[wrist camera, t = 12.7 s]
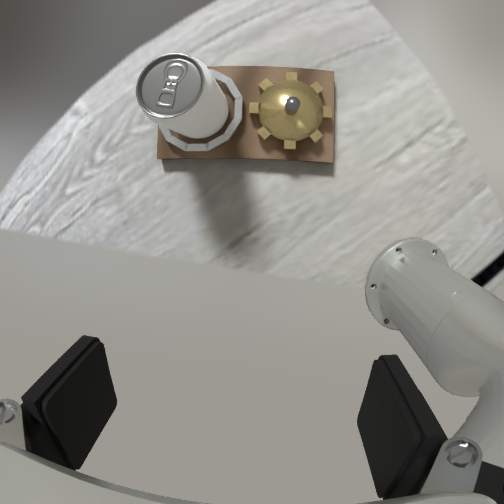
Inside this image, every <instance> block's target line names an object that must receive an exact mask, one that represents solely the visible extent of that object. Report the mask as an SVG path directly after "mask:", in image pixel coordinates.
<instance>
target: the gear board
mask: <svg viewBox="0 0 504 504" xmlns="http://www.w3.org/2000/svg"><path fill="white" fill-rule="evenodd" d="M207 68H208V69H213V70H215V71H217V72H219V73H221V74H223V75H225V76H227V77H229V78H231V79H232V80H233V82H234V84H235V85H236V87H237V89H238V90H239V92H240V94H241V95H242V97H243V121H242V123H241V124H240V126H239V127H238V129H237V131H236V132H235V134H234V135H233V137H232V138H231V140H230V139H229V140H230V141H228V142H226V143H225V144H223V145H221V146H219V147H217V148H216V149H214V150H212V151H210V152H187V151H184V150H182V149H180V148H179V147H177V146H175V145H173V144H172V143H170V142H168V141H167V140H166V139H165V137H164V135H163V133H162V131H161V130H160V128H159V126H158V144H157V159H189V158H235V159H270V160H291V161H308V162H322V163H333V152H334V71H325V70H315V69H304V68H290V67H268V66H220V67H207ZM286 72H297V80H298V81H301V82H304V83H306V84H308V85H309V86H311V85H312V84H313V83H314V82H316V81H317V82H318V83H319V84H320V85H321V86H322V87H323V88H324V89H323V91H322V92H321V93H320V94H319V97H320V99H321V101H322V104H323V106H324V107H332V118H331V119H330V120H324V119H322V122H321V124H320V126H319V127H318V130H319V131H320V132H321V134H322V135H323V136H322V137H321V138H320V139H319V140H318V141H317V142H315V143H314V144H313V143H312V142H311V141H310V140H309V139H308V138H306V139H304V140H301V141H297V142H296V149H295V150H284V141H281V140H278V139H276V138H274V137H273V136H270V137H269V138H268V139H267V140H266V141H264V140H263V139H262V138H261V137H260V136H259V135H258V134H257V131H258V130H259V129H260V128H262V127H263V126H262V124H261V122H260V119H259V116H254V115H250V114H249V104H250V102H256V103H259V99H260V97H261V95H262V93H263V92H262V91H261V90H260V89H259V87H258V85H259V84H260V83H261V82H262V81H263V80H265V79H266V78H267V79H268V80H269V81H270V82H271V83H272V84H273V83H275V82H277V81H281V80H285V74H286ZM216 82H217V83H218V85H219V87H220V89H221V90H222V92H223V94H224V96H225V97H226V100H227V102H228V108H229V112H228V117H227V120H226V122H225V124H224V125H223V127H222V128H221V129H220V130H219V131H218V132H217V133H215V134H214V135H212V136H210V137H207V138H201V139H195V138H190V137H187V136H185V135H182V134H180V133H177V132H175V131H173V130H171V131H172V132H173V134H174V136H175V137H177V138H179V139H180V140H182V141H184V142H186V143H187V144H207V143H208V142H210V141H212V140H214V139H215V138H217V137H219V136H221V135H223V134H224V133H225V131H226V130H227V128H228V126H229V125H230V123H231V122H232V120H233V119H234V111H235V99H234V97H233V95H232V93H231V92H230V90H229V88H228V87H227V86H226V85H224V84H222V83H220V82H218V81H216Z"/></svg>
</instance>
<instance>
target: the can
mask: <svg viewBox="0 0 504 504" xmlns="http://www.w3.org/2000/svg"><path fill="white" fill-rule="evenodd" d="M136 96H137V100H138V103H139V105H140V106H141V108H142V110H143V112H144V113H145V115H146V116H147V117H148V118H149V119H150V120H152V121H153V122H155V123H157V124H159V125H161V126H163V127H165V128H168V129H170V130H173V131H175V132H177V133H180V134H182V135H185V136H187V137H190V138H195V139H201V138H207V137H210V136H212V135H214V134H215V133H217V132H218V131H219V130H220V129H221V128H222V127H223V125H224V124H225V122H226V120H227V117H228V112H229V108H228V102H227V100H226V97H225V96H224V94H223V92H222V90H221V89H220V87H219V85H218V83H217V82H216V80H215V78H214V77H213V75H212V74H211V72H210V71H209V69H208V68H207V67H206V66H205V65H204V64H203V63H202V62H201V61H199V60H198V59H196V58H194V57H191V56H188V55H185V54H180V53H171V54H166V55H163V56H160V57H158V58H156V59H155V60H153V61H152V62H150V63H149V64H148V65H147V66H146V67H145V68H144V70H143V71H142V73H141V74H140V76H139V79H138V81H137V86H136Z"/></svg>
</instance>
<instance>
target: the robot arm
mask: <svg viewBox="0 0 504 504" xmlns="http://www.w3.org/2000/svg"><path fill="white" fill-rule="evenodd" d="M397 248H398V250H397V251H396V249H397ZM372 284H373V286H371V285H372ZM365 296H366V301H367V305H368V308H369V310H370V312H371V313H372V315H373V316H374V318H375V319H376V320H377V321H378V322H379V323H380V324H381V325H383V326H385V327H387V328H389V329H393V330H399V331H400V332H401V333H402V335H403V336H404V337H405V339H406V340H407V341H408V343H409V344H410V345H411V347H412V348H413V350H414V351H415V352H416V354H417V355H418V356H419V358H420V359H421V361H422V362H423V363H424V365H425V366H426V367H427V369H428V370H429V372H430V373H431V375H432V376H433V377H434V379H435V380H436V382H437V383H438V384H439V385H440V386H441V387H442V388H443V389H444V390H446V391H447V392H449V393H451V394H454V395H457V396H463V397H477V396H480V397H479V400H478V402H477V404H476V405H475V407H474V408H473V410H472V411H471V413H470V414H469V416H468V417H467V418H466V421H465V422H464V423H463V425H462V426H461V427H460V428H459V430H458V431H457V432H456V434H455V435H454V436H453V437H452V438H450V439H448V438H447V436H446V435H445V433H444V431H443V429H442V428H441V426H440V424H439V422H438V421H437V419H436V417H435V416H434V414H433V412H432V410H431V409H430V407H429V405H428V404H427V402H426V400H425V399H424V397H423V395H422V393H421V392H420V391H419V390H418V388H417V386H416V385H415V383H414V382H413V380H412V378H411V377H410V375H409V373H408V372H407V370H406V368H405V367H404V365H403V364H402V362H401V361H400V359H399V357H398V356H397V355H381V356H380V357H379V358H378V360H374V363H373V365H372V370H371V373H370V377H369V380H368V384H367V388H366V391H365V395H364V398H363V401H362V405H361V408H360V411H359V414H358V418H357V425H358V429H359V432H360V435H361V439H362V442H363V446H364V449H365V452H366V456H367V459H368V463H369V466H370V470H371V474H372V477H373V481H374V484H375V488H376V492H377V495H378V497H379V498H382V497H383V500H381V501H374V502H367V503H360V504H504V301H502V300H501V299H499V298H498V297H496V296H495V295H493V294H491V293H490V292H488V291H487V290H485V289H484V288H482V287H481V286H479V285H477V284H476V283H474V282H473V281H471V280H469V279H468V278H466V277H465V276H463V275H461V274H460V273H458V272H456V271H455V270H453V269H451V268H450V267H449V266H448V262H447V260H446V258H445V256H444V254H443V253H442V251H441V250H440V249H439V248H438V247H437V246H435V245H434V244H432V243H430V242H428V241H426V240H423V239H418V238H410V239H404V240H401V241H398V242H396V243H394V244H393V245H391V246H389V247H388V248H387V249H386V250H384V251H383V252H382V253H381V254H380V255H379V257H378V258H377V259H376V260H375V262H374V264H373V265H372V267H371V269H370V272H369V274H368V277H367V281H366V287H365ZM21 399H22V401H23V403H22V404H21V405H19V403H18V402H16V401H14V400H11V399H1V400H0V504H208V503H200V502H193V501H187V500H181V499H176V498H170V497H165V496H160V495H155V494H151V493H147V492H142V491H139V490H134V489H131V488H127V487H123V486H120V485H116V484H113V483H109V482H106V481H103V480H100V479H97V478H94V477H91V476H88V475H85V474H82V473H79V472H77V471H75V470H76V469H80V467H81V466H82V464H83V463H84V461H85V459H86V457H87V456H88V454H89V452H90V451H91V449H92V447H93V445H94V443H95V442H96V440H97V438H98V437H99V435H100V433H101V432H102V430H103V428H104V427H105V425H106V423H107V422H108V420H109V418H110V417H111V415H112V413H113V412H114V410H115V408H116V405H117V398H116V394H115V391H114V387H113V383H112V379H111V375H110V371H109V366H108V362H107V357H106V353H105V348H104V344H103V343H102V342H100V340H99V339H98V338H97V337H90V336H85V335H83V336H82V337H81V338H80V339H79V340H78V341H77V342H76V343H75V344H74V345H72V346H71V347H70V348H69V349H68V350H67V351H66V352H65V353H64V354H63V355H62V356H61V357H60V358H59V359H58V360H57V361H56V362H55V363H54V364H53V365H52V366H51V367H50V368H49V369H48V370H47V371H46V372H45V373H44V374H43V375H42V376H41V377H40V378H39V379H38V380H37V382H36V383H34V385H33V386H32V387H31V388H30V389H29V390H28V391H27V392H26V393H25V394H24V395H23V396H22V397H21Z"/></svg>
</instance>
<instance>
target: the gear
mask: <svg viewBox="0 0 504 504" xmlns="http://www.w3.org/2000/svg"><path fill="white" fill-rule="evenodd" d="M258 87H259V89H260V90H261V91H262V92H263V93H262V95H261V97H260V99H259V103H256V102H250V104H249V114H250V115H254V116H259V119H260V122H261V124H262V126H263V127H262V128H260V129H259V130H258V131H257V134H258V135H259V136H260V137H261V138H262V139H263V140H264V141H266V140H267V139H268V138H269V137H270V136H273V137H274V138H276V139H278V140H281V141H284V150H295V149H296V142H297V141H301V140H304V139H306V138H308V139H309V140H310V141H311V142H312V143H313V144H314V143H315V142H317V141H318V140H319V139H320V138H321V137H322V136H323V135H322V134H321V132H320V131H319V130H318V127H319V126H320V124H321V122H322V119H324V120H330V119H331V118H332V107H324V106H323V104H322V101H321V99H320V97H319V94H320V93H321V92H322V91H323V89H324V88H323V87H322V86H321V85H320V84H319V83H318V82H317V81H316V82H314V83H313V84H312V85H311V86H309V85H308V84H306V83H304V82H301V81H298V80H297V72H286V74H285V80H281V81H277V82H275V83H273V84H272V83H271V82H270V81H269V80H268V79H267V78H266V79H265V80H263V81H262V82H261V83H260V84H259V85H258Z"/></svg>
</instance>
